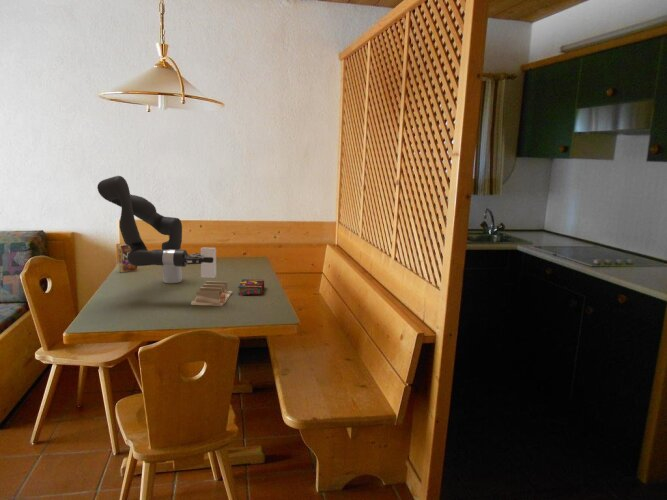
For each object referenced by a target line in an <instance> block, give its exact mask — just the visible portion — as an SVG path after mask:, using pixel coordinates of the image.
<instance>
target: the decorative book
mask: <svg viewBox="0 0 667 500" xmlns="http://www.w3.org/2000/svg"><path fill="white" fill-rule="evenodd" d="M237 287H238V290H239V292H238V293H237V296H240V297H243V296H262V295H263V294H264V291H265V279H251V278H242V279H241V281H240V282H239V285H238V286H237Z"/></svg>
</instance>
